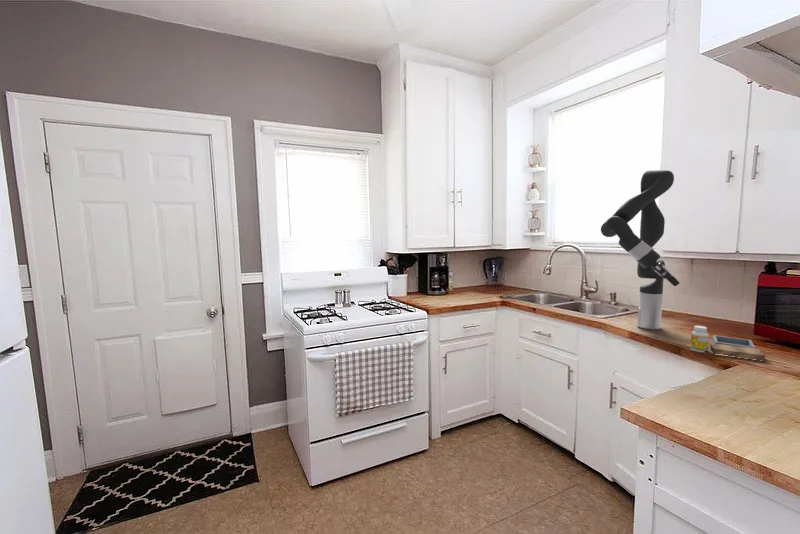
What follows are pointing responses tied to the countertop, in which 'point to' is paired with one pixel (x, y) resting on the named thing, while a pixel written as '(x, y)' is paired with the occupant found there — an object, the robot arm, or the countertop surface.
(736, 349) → the brown flat block
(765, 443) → the countertop surface
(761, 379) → the countertop surface
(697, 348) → the supplement bottle
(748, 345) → the tray
